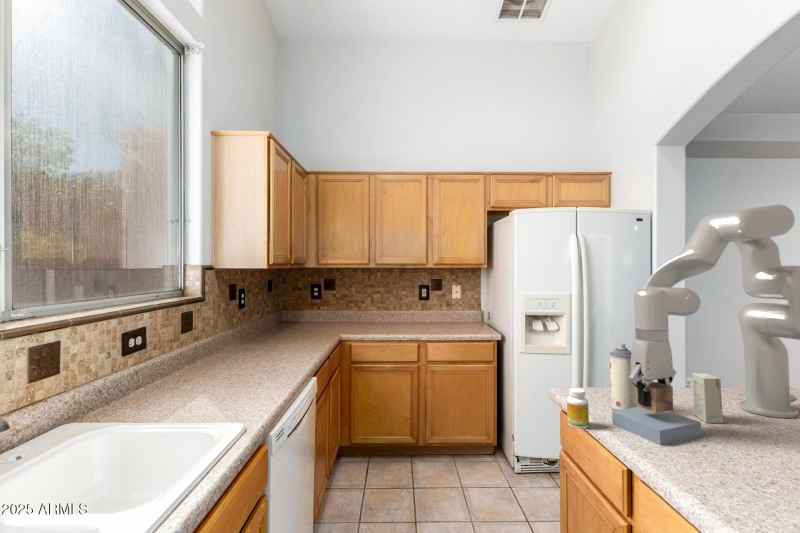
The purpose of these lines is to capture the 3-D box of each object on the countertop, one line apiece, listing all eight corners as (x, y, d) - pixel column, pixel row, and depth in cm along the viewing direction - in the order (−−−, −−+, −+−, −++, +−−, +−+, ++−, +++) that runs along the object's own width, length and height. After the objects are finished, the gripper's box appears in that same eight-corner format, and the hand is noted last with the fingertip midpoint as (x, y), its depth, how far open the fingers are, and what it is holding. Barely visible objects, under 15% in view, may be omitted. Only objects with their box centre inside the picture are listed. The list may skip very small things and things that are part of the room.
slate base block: (650, 418, 112) (650, 404, 113) (701, 438, 99) (700, 422, 99) (612, 426, 108) (612, 411, 108) (660, 447, 95) (659, 430, 95)
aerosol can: (618, 404, 123) (616, 341, 124) (641, 410, 118) (639, 344, 118) (606, 409, 120) (604, 343, 120) (630, 415, 114) (627, 347, 114)
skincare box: (723, 424, 106) (722, 379, 106) (705, 423, 107) (704, 378, 107) (710, 415, 113) (708, 372, 113) (693, 414, 114) (691, 372, 114)
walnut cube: (652, 402, 107) (651, 380, 108) (673, 409, 102) (672, 386, 102) (635, 405, 106) (634, 383, 106) (656, 412, 100) (655, 389, 100)
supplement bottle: (588, 430, 104) (587, 394, 105) (566, 427, 107) (565, 391, 107) (589, 423, 109) (588, 388, 109) (568, 420, 112) (567, 386, 112)
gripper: (662, 331, 110) (664, 395, 110) (614, 335, 105) (616, 403, 105) (689, 335, 103) (691, 404, 103) (639, 340, 98) (641, 412, 97)
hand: (653, 403), depth 104 cm, fingers closed on walnut cube, 6 cm apart
